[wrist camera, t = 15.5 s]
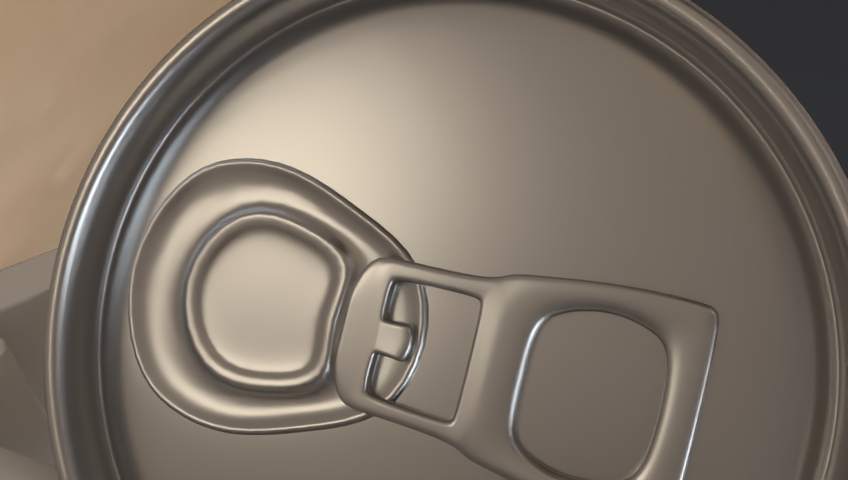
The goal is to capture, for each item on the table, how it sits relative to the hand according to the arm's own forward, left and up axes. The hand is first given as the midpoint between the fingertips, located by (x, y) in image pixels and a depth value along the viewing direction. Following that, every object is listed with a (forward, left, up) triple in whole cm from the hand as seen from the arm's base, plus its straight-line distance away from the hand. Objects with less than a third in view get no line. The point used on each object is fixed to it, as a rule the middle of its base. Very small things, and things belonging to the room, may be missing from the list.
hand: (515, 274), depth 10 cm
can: (0, +1, -7) cm, 7 cm away
